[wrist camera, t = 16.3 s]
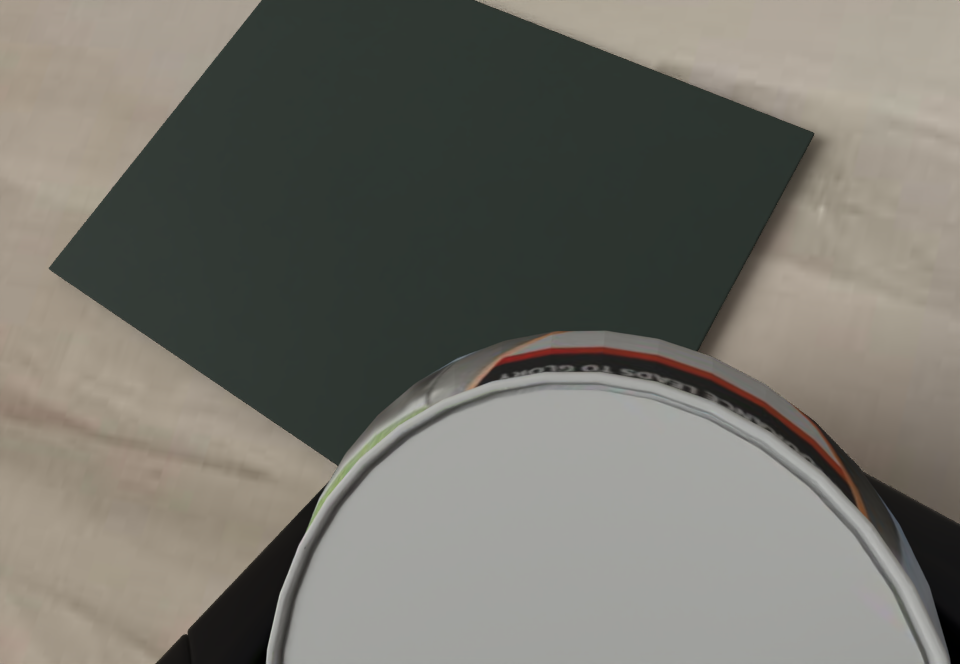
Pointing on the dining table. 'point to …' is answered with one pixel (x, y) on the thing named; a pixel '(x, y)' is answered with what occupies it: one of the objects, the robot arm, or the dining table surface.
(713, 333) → the dining table surface
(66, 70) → the dining table surface
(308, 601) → the beverage can
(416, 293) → the drip mat
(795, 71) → the dining table surface
